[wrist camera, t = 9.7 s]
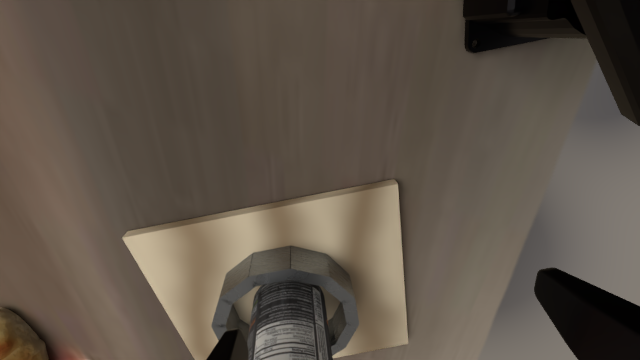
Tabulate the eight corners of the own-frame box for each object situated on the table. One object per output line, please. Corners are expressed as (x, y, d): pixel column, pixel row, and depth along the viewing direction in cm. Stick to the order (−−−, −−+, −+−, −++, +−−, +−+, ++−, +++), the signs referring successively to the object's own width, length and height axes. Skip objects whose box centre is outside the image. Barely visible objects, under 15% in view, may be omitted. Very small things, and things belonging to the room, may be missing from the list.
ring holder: (394, 179, 22) (410, 201, 19) (405, 336, 30) (417, 369, 27) (127, 231, 22) (101, 262, 19) (210, 373, 30) (201, 411, 27)
